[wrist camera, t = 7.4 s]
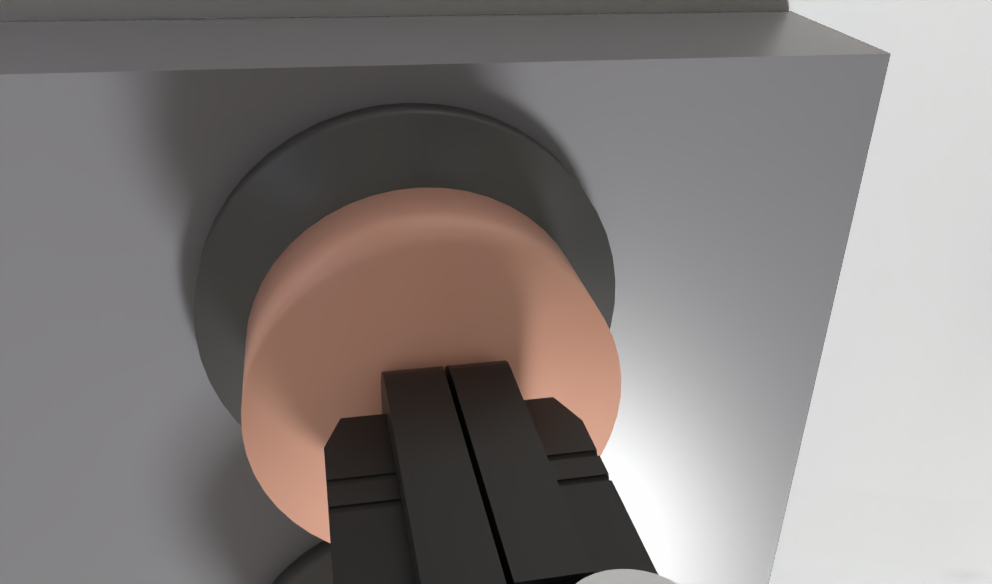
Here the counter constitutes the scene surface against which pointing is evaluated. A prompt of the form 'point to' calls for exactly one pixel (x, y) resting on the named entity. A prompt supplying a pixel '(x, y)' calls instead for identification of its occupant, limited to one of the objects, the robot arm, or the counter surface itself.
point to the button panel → (395, 166)
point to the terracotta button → (410, 327)
